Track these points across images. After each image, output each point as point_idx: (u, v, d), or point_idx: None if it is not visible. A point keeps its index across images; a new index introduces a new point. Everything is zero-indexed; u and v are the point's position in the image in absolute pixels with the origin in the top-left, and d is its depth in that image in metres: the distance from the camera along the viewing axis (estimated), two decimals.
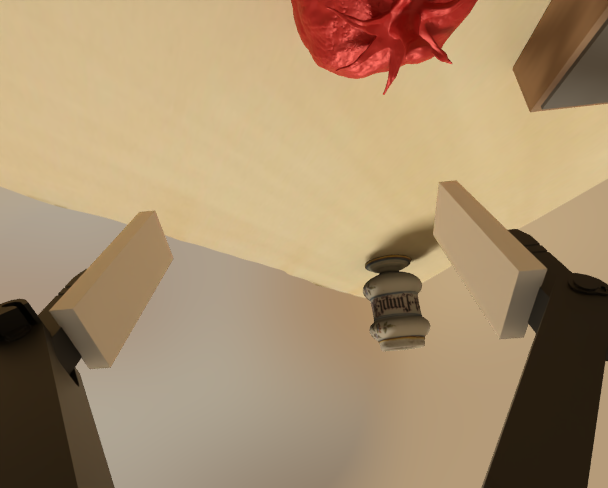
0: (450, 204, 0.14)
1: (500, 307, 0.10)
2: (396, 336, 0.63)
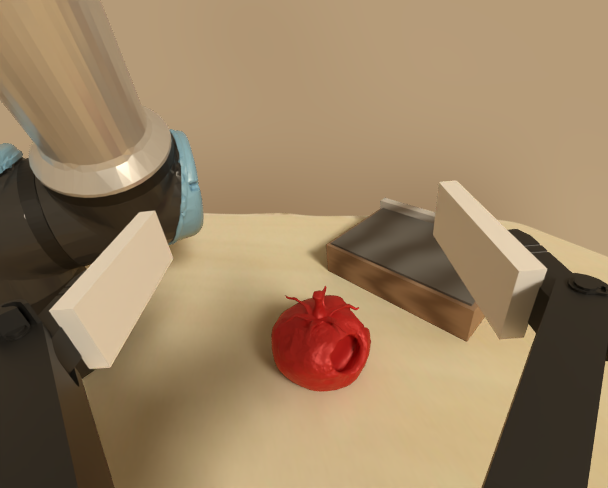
0: (450, 204, 0.14)
1: (500, 307, 0.10)
2: None
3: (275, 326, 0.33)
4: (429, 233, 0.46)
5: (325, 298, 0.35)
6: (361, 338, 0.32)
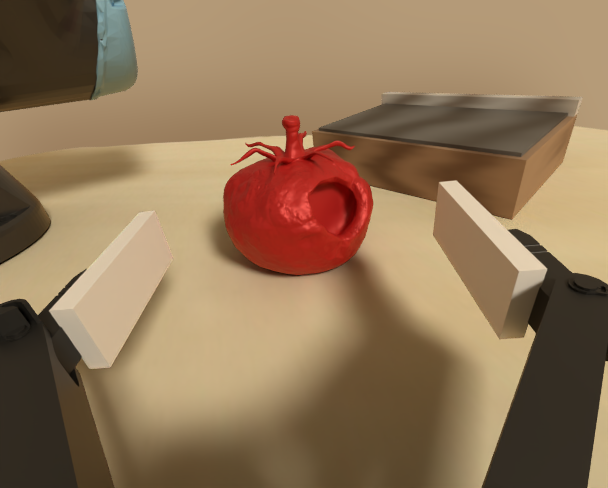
0: (450, 204, 0.14)
1: (500, 307, 0.10)
2: None
3: (228, 180, 0.22)
4: (446, 112, 0.35)
5: None
6: (359, 189, 0.21)
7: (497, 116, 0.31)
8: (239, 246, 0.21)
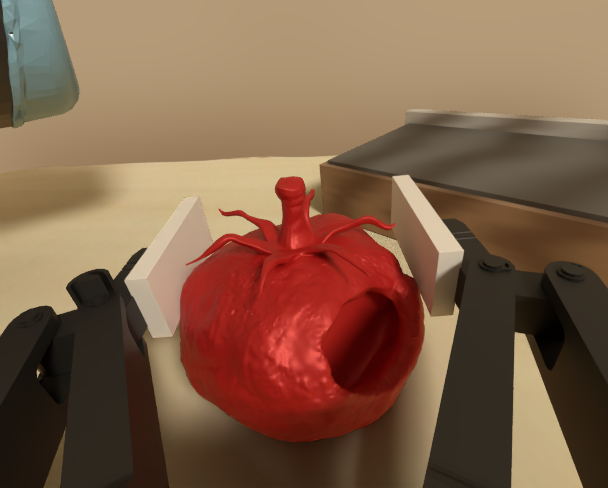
0: (399, 196, 0.15)
1: (430, 287, 0.12)
2: None
3: (189, 276, 0.13)
4: (497, 140, 0.26)
5: (313, 217, 0.15)
6: (404, 300, 0.12)
7: (573, 150, 0.23)
8: None
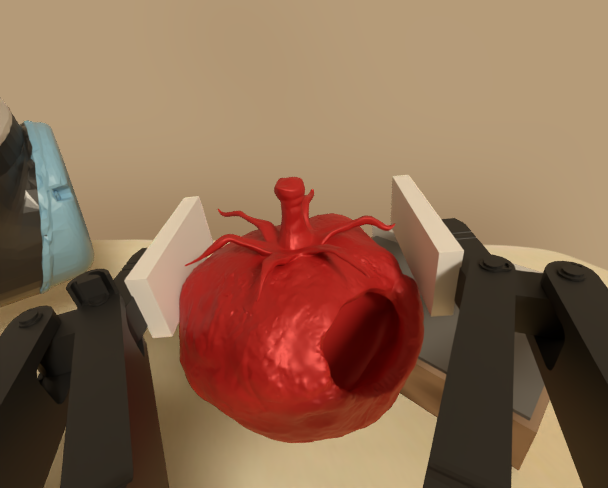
0: (399, 196, 0.15)
1: (430, 287, 0.12)
2: None
3: (188, 277, 0.13)
4: None
5: (312, 218, 0.15)
6: (404, 300, 0.12)
7: None
8: None
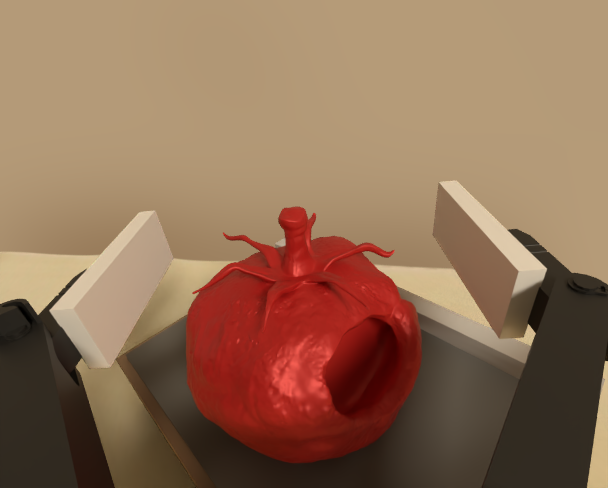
0: (450, 204, 0.14)
1: (500, 307, 0.10)
2: None
3: (194, 300, 0.14)
4: None
5: (314, 240, 0.16)
6: (402, 325, 0.13)
7: (433, 386, 0.16)
8: None
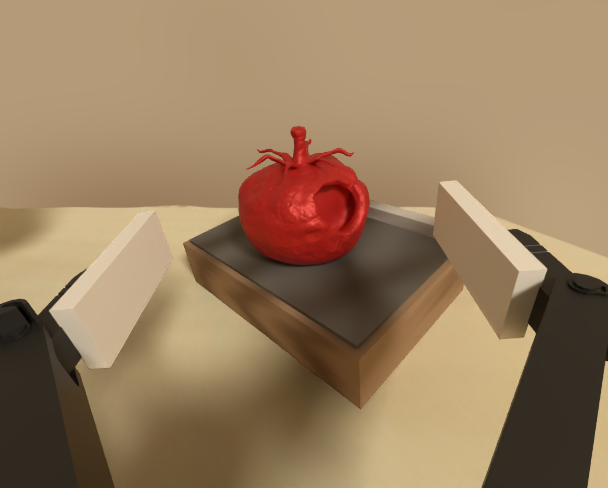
0: (450, 204, 0.14)
1: (500, 307, 0.10)
2: None
3: (243, 182, 0.25)
4: None
5: (310, 155, 0.26)
6: (357, 190, 0.24)
7: (380, 242, 0.27)
8: (253, 240, 0.24)
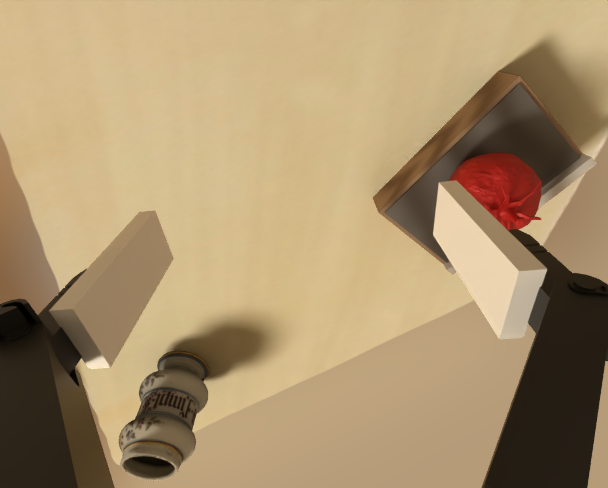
0: (450, 204, 0.14)
1: (500, 307, 0.10)
2: (156, 439, 0.50)
3: (508, 168, 0.33)
4: None
5: (528, 214, 0.35)
6: None
7: None
8: (462, 166, 0.36)
